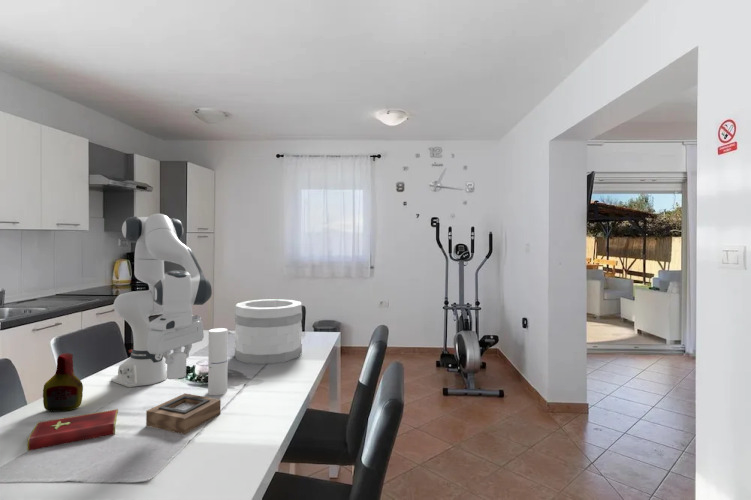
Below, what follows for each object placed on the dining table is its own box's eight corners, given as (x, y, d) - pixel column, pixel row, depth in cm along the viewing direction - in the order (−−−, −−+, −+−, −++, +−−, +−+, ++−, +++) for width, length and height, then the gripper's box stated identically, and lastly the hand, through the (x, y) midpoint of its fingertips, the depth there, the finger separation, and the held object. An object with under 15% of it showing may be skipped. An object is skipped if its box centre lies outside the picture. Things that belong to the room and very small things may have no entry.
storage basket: (294, 364, 195) (294, 309, 194) (223, 363, 195) (224, 308, 195) (307, 346, 230) (307, 299, 229) (247, 345, 230) (248, 298, 230)
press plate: (165, 413, 131) (165, 410, 131) (184, 404, 139) (184, 401, 139) (184, 417, 128) (184, 414, 128) (202, 407, 136) (202, 405, 136)
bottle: (87, 405, 144) (87, 350, 144) (75, 412, 138) (75, 355, 137) (51, 406, 143) (51, 351, 142) (38, 414, 136) (38, 356, 136)
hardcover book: (115, 436, 123) (115, 422, 123) (27, 452, 112) (27, 438, 112) (118, 420, 133) (118, 408, 133) (37, 434, 123) (37, 421, 123)
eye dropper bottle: (169, 375, 133) (170, 340, 133) (187, 375, 134) (188, 339, 134) (164, 379, 128) (166, 342, 129) (183, 379, 129) (184, 342, 130)
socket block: (146, 425, 129) (146, 409, 129) (184, 406, 144) (184, 391, 144) (184, 434, 123) (184, 417, 123) (220, 413, 139) (220, 398, 138)
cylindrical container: (220, 396, 154) (221, 332, 154) (204, 394, 156) (204, 331, 155) (230, 389, 161) (231, 328, 161) (215, 387, 163) (215, 327, 162)
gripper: (194, 313, 142) (194, 351, 142) (143, 324, 123) (143, 368, 123) (208, 314, 140) (207, 353, 140) (158, 326, 121) (158, 371, 121)
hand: (177, 360), depth 131 cm, fingers closed on eye dropper bottle, 5 cm apart
